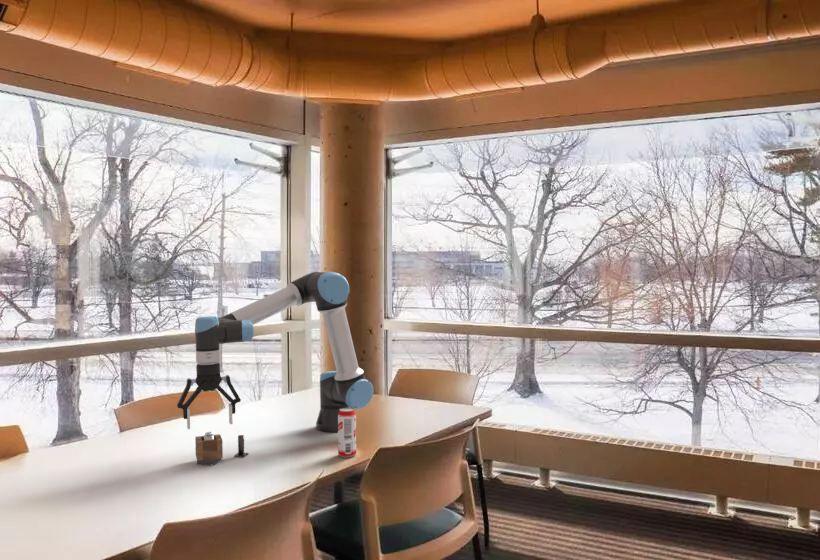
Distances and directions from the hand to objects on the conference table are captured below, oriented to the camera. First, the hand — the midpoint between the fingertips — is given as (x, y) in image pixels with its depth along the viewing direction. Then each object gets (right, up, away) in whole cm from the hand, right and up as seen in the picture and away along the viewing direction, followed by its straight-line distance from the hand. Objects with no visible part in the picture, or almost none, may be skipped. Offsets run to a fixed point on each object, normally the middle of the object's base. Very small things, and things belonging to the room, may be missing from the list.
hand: (210, 426), depth 219 cm
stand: (+9, -12, +7) cm, 16 cm away
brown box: (0, -10, 0) cm, 10 cm away
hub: (0, -12, 0) cm, 12 cm away
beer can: (+45, -12, +7) cm, 47 cm away
